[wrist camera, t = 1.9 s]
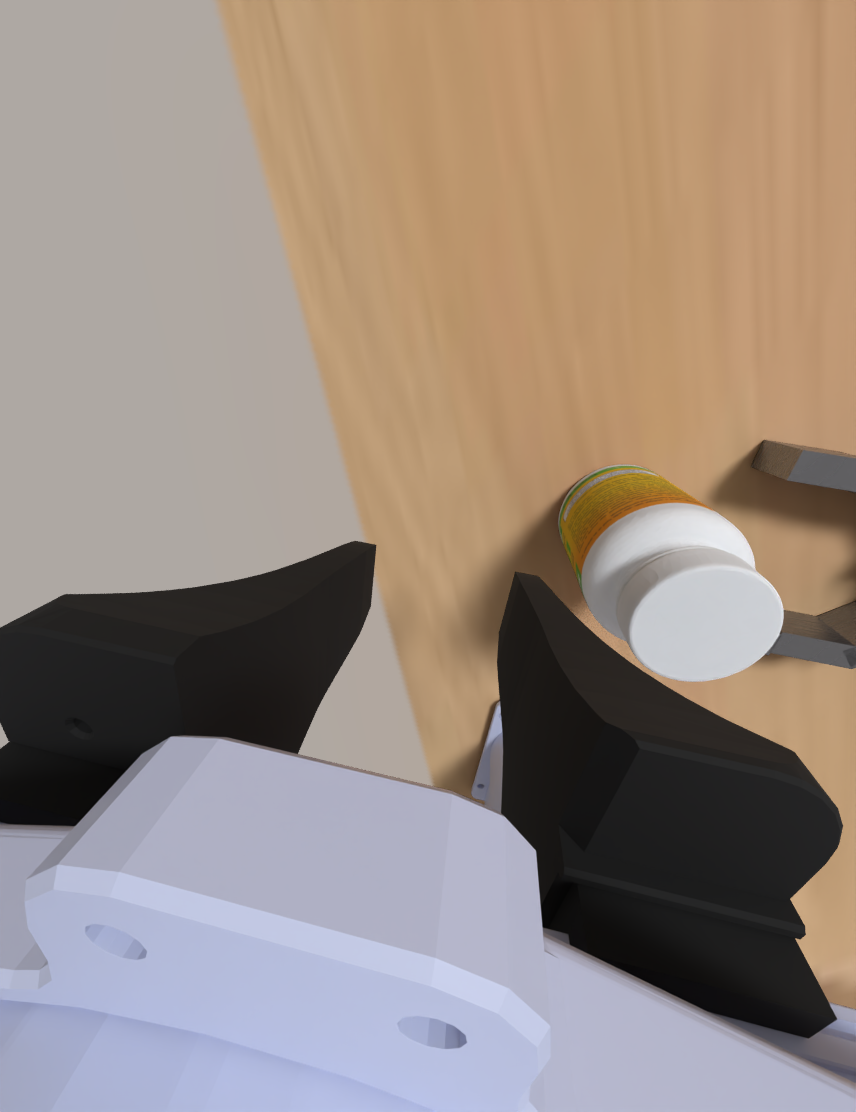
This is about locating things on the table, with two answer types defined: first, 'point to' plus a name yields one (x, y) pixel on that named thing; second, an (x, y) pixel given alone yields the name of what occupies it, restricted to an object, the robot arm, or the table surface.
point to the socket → (843, 631)
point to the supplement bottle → (668, 575)
